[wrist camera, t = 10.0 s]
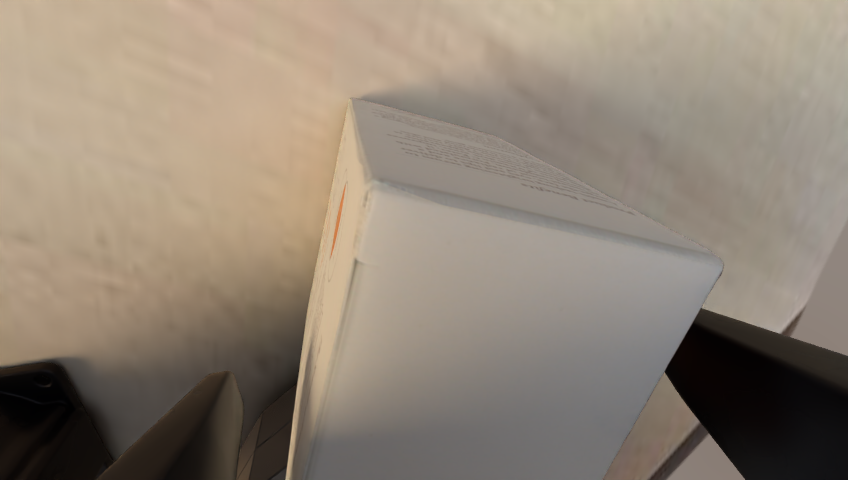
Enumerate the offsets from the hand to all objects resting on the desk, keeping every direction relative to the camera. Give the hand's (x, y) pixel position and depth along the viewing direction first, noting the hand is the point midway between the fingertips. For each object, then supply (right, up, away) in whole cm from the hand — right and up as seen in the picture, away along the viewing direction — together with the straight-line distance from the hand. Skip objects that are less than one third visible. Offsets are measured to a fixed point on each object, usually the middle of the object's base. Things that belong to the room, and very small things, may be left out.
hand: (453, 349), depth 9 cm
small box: (-2, +3, +7) cm, 8 cm away
